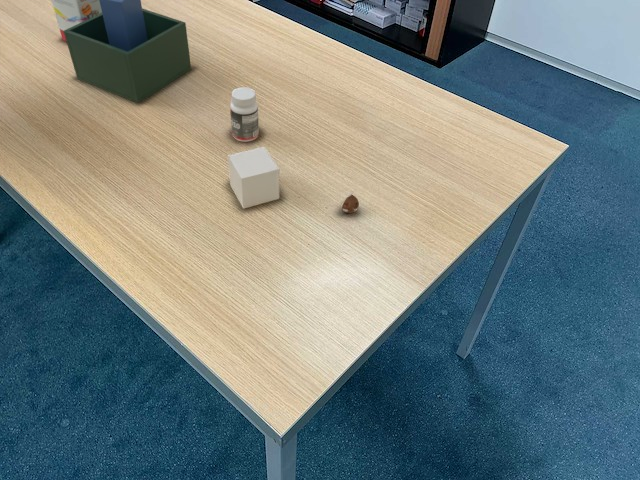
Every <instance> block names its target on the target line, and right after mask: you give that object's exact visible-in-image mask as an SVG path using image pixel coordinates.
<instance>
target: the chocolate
mask: <svg viewBox="0 0 640 480" xmlns="http://www.w3.org/2000/svg"><path fill="white" fill-rule="evenodd" d="M355 191H356V189H353V190H351V191H350V192H347V194H346V198H345V199H344V201H343V202H342V203H341V206H340V210H341V212H343V213H346V214H353V213H354V212H356V211H358V210H359V206H360V201H359V199H358V197H356V196H355V195H353V194H354V193H355Z"/></svg>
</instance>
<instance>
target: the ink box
mask: <svg viewBox="0 0 640 480" xmlns="http://www.w3.org/2000/svg"><path fill="white" fill-rule="evenodd" d="M51 3H52V7H53V12H54V14H55V18H56V22H57V25H58V28H59V32H60V35H61V38H62V40H63V41H64V42H66V38H65V35H64V32H63V31H64V30H66V29H68V28H71V27H73V26H75V25H77V24H79V23H81V22H83V21H85V20H88V19H90V18H92V17H94V16H96V15H98V14H100V13H102V10H101V6H100V1H99V0H51Z"/></svg>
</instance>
